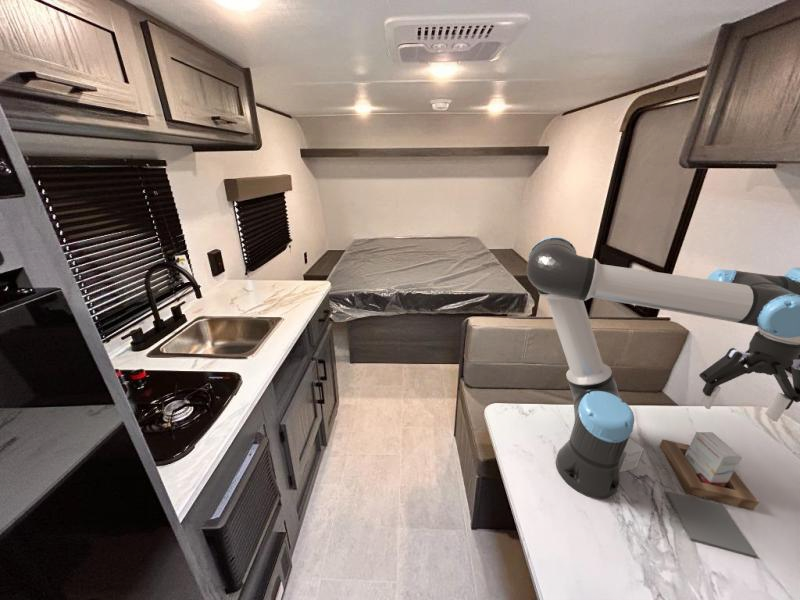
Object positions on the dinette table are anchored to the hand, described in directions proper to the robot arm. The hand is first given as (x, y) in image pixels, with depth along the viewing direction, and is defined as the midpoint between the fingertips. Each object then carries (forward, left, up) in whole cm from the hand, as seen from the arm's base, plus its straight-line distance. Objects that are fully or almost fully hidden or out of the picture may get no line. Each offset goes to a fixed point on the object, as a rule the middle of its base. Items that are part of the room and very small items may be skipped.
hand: (737, 411), depth 79 cm
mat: (-6, -15, -22) cm, 28 cm away
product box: (-21, -2, -23) cm, 31 cm away
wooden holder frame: (0, 0, -22) cm, 22 cm away
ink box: (0, 0, -23) cm, 23 cm away
